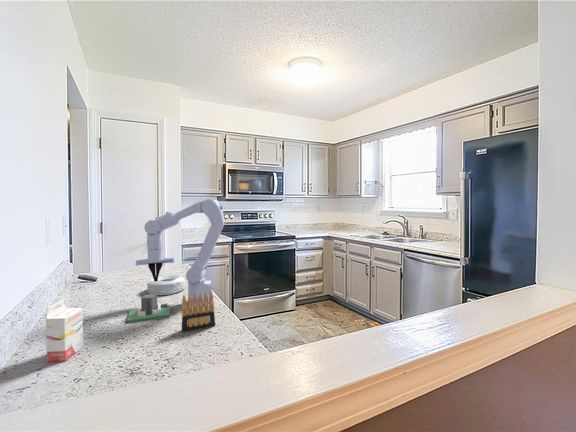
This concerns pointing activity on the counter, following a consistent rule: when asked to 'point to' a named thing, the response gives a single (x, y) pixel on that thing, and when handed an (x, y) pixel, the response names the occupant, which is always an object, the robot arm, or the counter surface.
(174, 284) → the cable
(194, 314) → the ammunition clip
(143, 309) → the plug
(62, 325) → the ink cartridge box
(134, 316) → the board
